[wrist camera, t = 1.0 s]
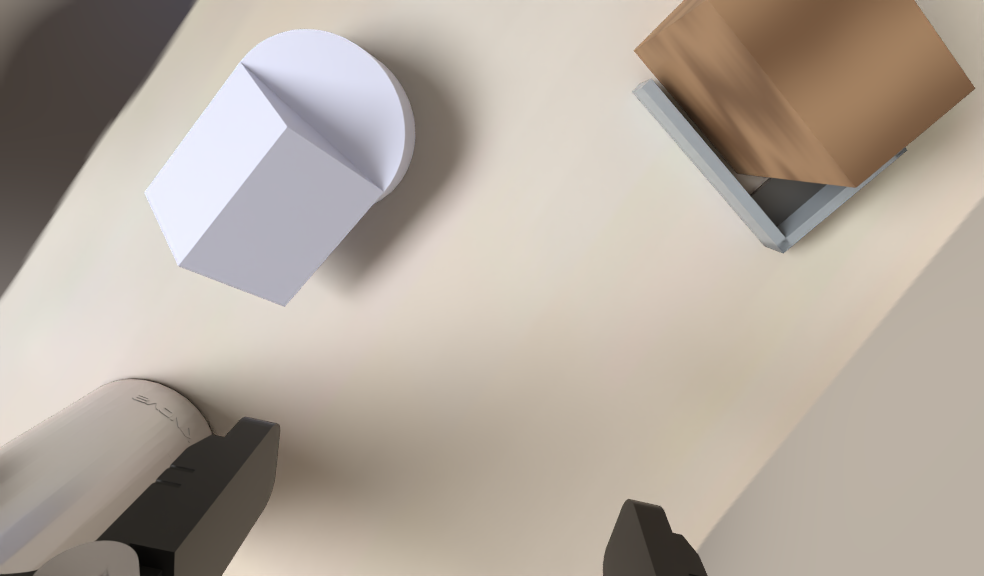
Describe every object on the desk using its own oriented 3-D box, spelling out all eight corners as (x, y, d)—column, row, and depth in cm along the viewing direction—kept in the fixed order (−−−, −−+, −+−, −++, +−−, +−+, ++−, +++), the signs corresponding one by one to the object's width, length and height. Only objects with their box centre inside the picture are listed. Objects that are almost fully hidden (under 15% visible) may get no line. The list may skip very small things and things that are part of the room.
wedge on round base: (306, 289, 31) (448, 126, 28) (256, 328, 25) (433, 121, 22) (183, 187, 29) (320, 3, 27) (94, 199, 23) (264, -41, 20)
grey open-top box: (879, 149, 28) (907, 150, 26) (764, 246, 30) (783, 253, 28) (748, -23, 26) (768, -36, 24) (632, 91, 28) (642, 87, 26)
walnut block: (810, 107, 28) (975, 88, 18) (736, 173, 29) (856, 188, 19) (708, -24, 26) (830, -122, 17) (633, 50, 27) (707, -1, 18)
